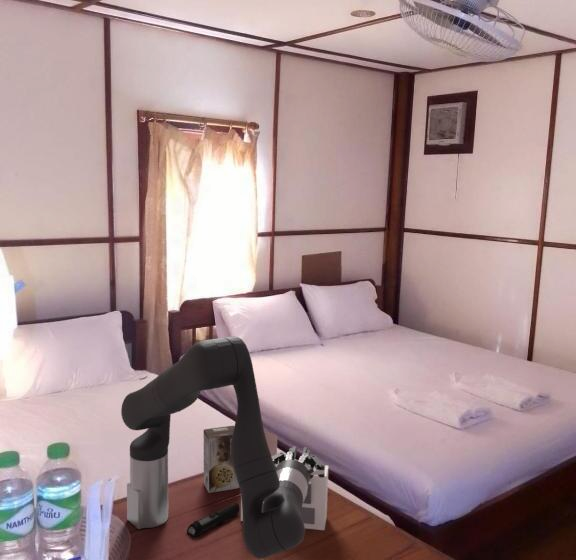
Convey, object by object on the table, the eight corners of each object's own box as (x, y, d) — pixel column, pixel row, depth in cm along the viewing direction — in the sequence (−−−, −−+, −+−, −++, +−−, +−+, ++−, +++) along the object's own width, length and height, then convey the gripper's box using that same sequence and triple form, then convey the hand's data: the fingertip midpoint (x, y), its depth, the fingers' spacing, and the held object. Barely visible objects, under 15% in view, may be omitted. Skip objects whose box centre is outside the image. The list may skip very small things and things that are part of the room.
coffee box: (233, 478, 175) (234, 424, 172) (240, 488, 169) (241, 433, 167) (202, 483, 171) (203, 428, 169) (208, 493, 166) (208, 437, 163)
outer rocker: (294, 502, 148) (294, 482, 146) (294, 500, 149) (294, 480, 147) (310, 504, 147) (310, 484, 145) (311, 501, 148) (311, 481, 146)
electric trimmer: (243, 516, 155) (243, 504, 155) (195, 540, 144) (195, 527, 143) (233, 511, 158) (233, 499, 157) (185, 534, 146) (185, 521, 146)
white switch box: (240, 522, 152) (241, 469, 150) (245, 509, 158) (246, 458, 156) (324, 531, 149) (326, 477, 147) (326, 517, 155) (328, 465, 153)
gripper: (323, 471, 119) (331, 437, 136) (254, 465, 121) (270, 432, 138) (322, 507, 120) (329, 468, 137) (254, 500, 122) (269, 463, 139)
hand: (300, 450), depth 137 cm, fingers closed
